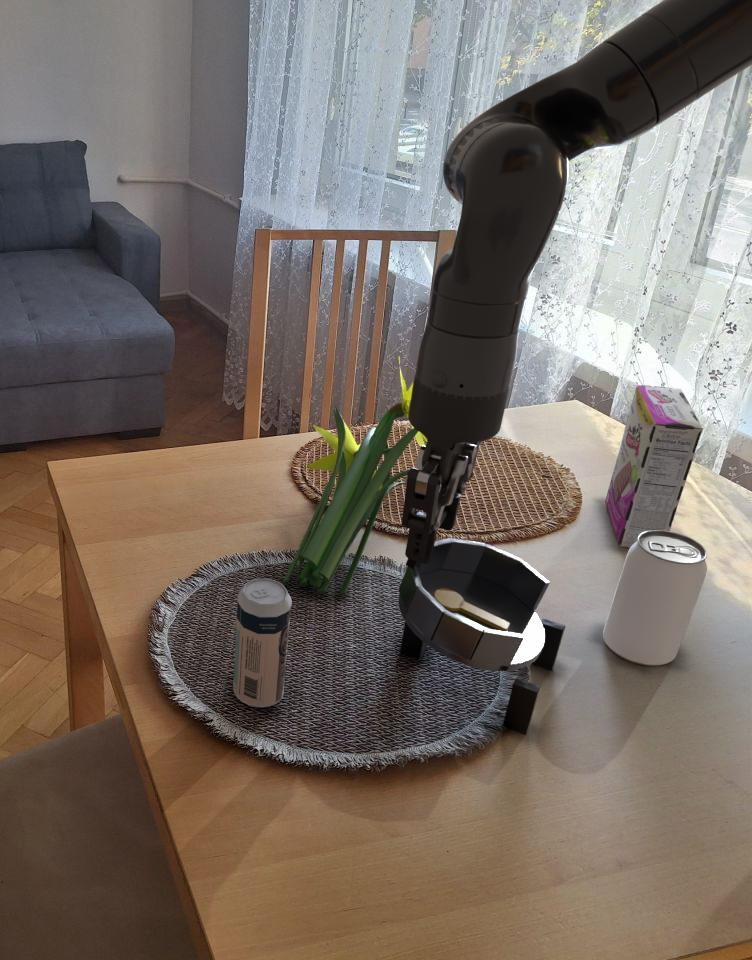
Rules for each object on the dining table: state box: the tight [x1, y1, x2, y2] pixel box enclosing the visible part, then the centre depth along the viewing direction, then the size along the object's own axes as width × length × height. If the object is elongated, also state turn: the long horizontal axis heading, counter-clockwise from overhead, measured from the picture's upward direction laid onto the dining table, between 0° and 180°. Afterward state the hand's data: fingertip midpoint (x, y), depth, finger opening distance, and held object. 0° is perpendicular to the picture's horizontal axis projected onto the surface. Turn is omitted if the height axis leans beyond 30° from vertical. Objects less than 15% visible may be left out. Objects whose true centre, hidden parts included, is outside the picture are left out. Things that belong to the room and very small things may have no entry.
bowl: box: [398, 506, 551, 672], centre depth 78 cm, size 14×13×9 cm
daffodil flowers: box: [281, 356, 427, 597], centre depth 104 cm, size 17×15×35 cm
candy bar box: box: [604, 384, 704, 550], centre depth 101 cm, size 11×5×16 cm, turn 161°
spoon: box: [433, 588, 510, 631], centre depth 80 cm, size 7×3×1 cm, turn 54°
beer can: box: [232, 578, 293, 708], centre depth 79 cm, size 5×5×12 cm
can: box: [602, 530, 708, 667], centre depth 83 cm, size 6×6×12 cm
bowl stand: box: [399, 618, 566, 736], centre depth 82 cm, size 13×11×5 cm
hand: (430, 541), depth 80 cm, fingers closed on bowl, 6 cm apart
